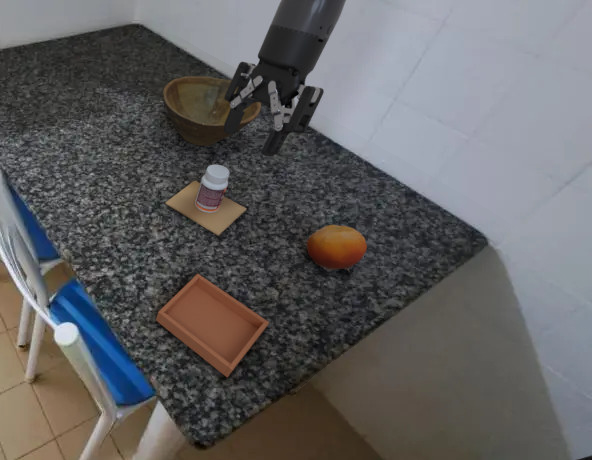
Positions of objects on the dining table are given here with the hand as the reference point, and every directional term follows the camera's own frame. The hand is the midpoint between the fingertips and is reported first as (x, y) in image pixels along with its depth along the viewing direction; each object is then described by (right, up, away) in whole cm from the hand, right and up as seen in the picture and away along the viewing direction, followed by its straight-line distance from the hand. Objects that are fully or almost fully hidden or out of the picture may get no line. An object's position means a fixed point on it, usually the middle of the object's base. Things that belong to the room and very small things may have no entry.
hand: (247, 143), depth 60 cm
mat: (-1, -9, +16) cm, 18 cm away
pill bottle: (-1, -9, +16) cm, 18 cm away
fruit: (+17, -19, +7) cm, 26 cm away
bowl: (+3, +9, +34) cm, 35 cm away
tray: (-6, -28, -2) cm, 28 cm away
